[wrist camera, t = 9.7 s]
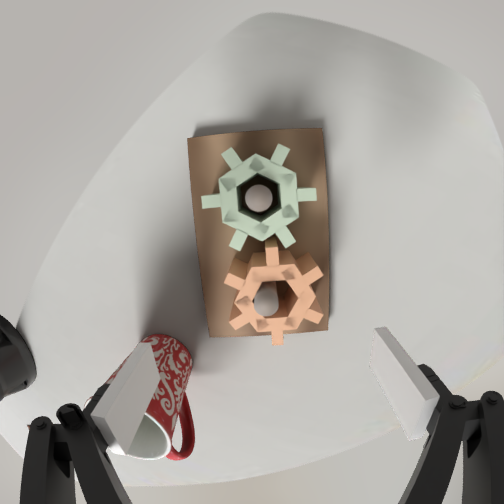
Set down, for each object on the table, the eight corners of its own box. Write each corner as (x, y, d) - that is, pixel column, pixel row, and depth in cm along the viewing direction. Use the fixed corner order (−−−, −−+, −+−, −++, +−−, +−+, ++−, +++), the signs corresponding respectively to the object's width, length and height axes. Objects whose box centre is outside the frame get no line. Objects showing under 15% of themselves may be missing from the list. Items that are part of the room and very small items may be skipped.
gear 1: (216, 241, 28) (207, 253, 23) (208, 156, 26) (197, 150, 21) (308, 235, 28) (318, 246, 23) (303, 149, 26) (312, 142, 21)
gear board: (211, 330, 32) (199, 368, 25) (190, 140, 27) (168, 127, 20) (325, 323, 31) (340, 360, 24) (319, 130, 27) (337, 114, 19)
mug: (119, 341, 33) (67, 405, 20) (171, 315, 32) (124, 387, 19) (175, 408, 35) (149, 480, 22) (228, 390, 34) (214, 472, 21)
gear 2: (259, 332, 30) (258, 358, 25) (212, 272, 29) (203, 289, 24) (331, 288, 29) (343, 307, 24) (287, 221, 27) (293, 229, 22)
